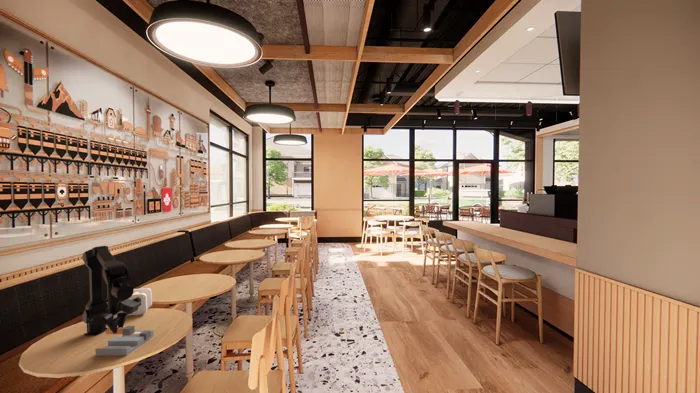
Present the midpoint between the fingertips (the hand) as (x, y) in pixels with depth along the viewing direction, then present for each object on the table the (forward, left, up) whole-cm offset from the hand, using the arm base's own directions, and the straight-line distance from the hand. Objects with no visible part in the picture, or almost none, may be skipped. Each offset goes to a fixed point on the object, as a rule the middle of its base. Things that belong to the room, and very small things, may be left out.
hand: (118, 331), depth 127 cm
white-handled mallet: (+1, +8, -7) cm, 11 cm away
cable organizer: (-22, +38, -8) cm, 45 cm away
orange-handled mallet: (0, 0, -1) cm, 1 cm away
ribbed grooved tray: (0, +4, -8) cm, 9 cm away
